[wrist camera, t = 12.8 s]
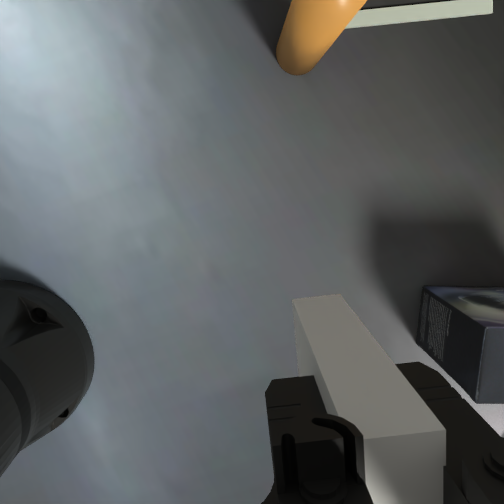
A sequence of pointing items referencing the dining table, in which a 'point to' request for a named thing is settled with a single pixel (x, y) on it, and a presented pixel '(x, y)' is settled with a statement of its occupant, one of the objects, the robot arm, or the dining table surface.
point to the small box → (466, 337)
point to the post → (312, 31)
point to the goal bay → (420, 12)
